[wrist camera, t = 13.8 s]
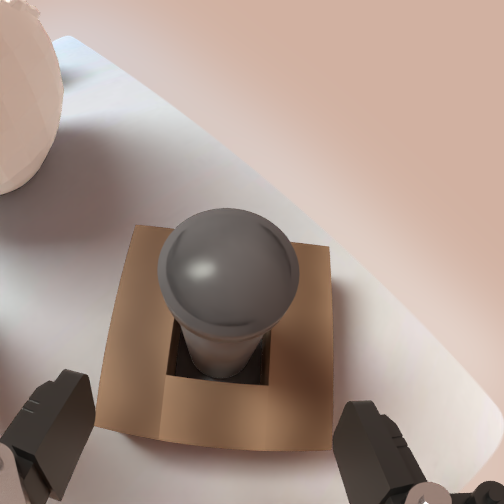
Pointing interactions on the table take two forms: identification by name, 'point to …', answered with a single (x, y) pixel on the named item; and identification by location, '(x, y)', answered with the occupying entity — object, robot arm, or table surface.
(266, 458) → the table surface
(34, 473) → the robot arm
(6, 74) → the white handled vase
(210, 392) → the socket block
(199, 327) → the plug
